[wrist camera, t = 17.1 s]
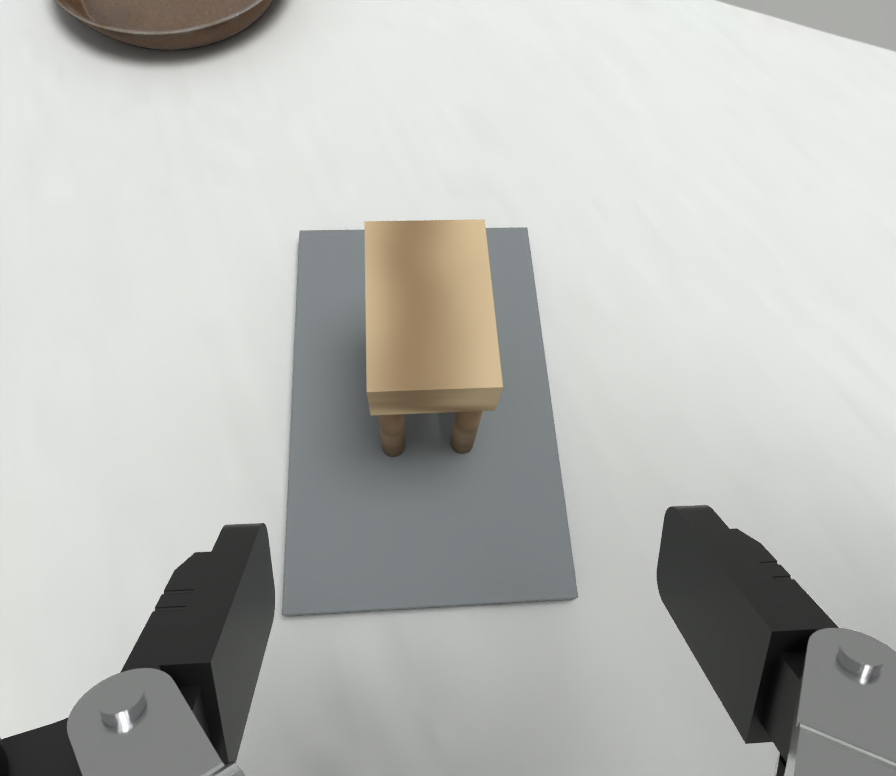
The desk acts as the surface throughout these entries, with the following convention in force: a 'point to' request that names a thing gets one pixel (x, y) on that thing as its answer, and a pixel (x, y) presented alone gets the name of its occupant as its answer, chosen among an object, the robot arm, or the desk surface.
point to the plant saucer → (166, 20)
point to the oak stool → (430, 326)
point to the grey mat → (418, 460)
